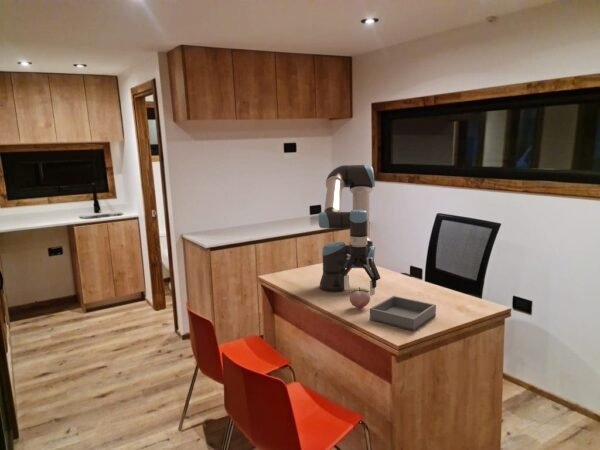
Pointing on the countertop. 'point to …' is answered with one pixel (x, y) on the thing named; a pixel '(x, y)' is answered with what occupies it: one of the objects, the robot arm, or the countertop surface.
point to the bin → (403, 313)
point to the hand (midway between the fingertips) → (359, 292)
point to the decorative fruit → (359, 297)
